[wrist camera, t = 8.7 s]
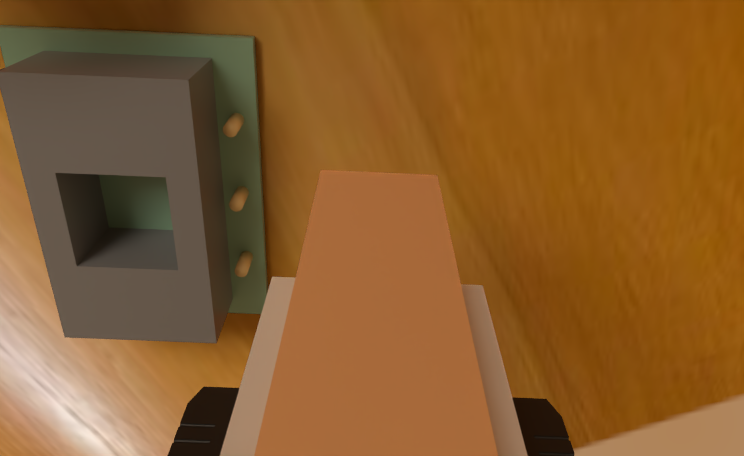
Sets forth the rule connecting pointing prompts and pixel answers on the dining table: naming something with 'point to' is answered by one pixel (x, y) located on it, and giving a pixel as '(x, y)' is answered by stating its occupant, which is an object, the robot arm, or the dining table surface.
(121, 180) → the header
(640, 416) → the dining table surface
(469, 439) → the plug
